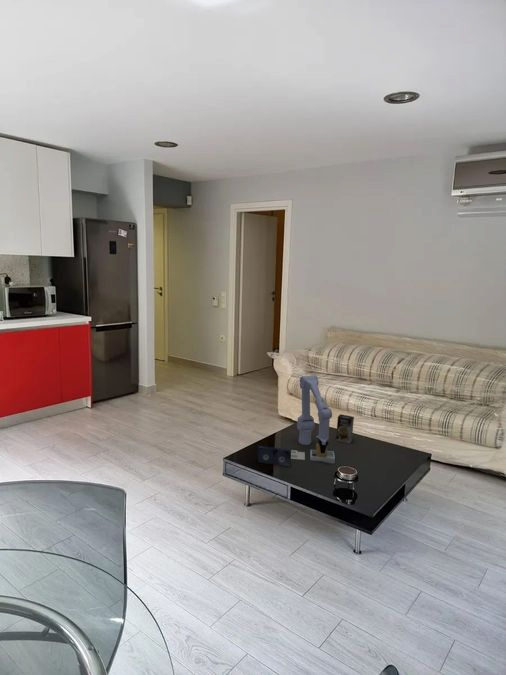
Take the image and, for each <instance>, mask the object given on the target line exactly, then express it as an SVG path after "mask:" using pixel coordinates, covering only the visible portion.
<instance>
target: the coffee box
mask: <svg viewBox="0 0 506 675" xmlns="http://www.w3.org/2000/svg"><path fill="white" fill-rule="evenodd" d="M354 421H355V417H354V416H351V415H347V414H341V413H340V414H339V415H338V416H337V421H336V422H337V423H336V433H335V434H336V435H335V436H336V438H335V441H336V442H341V443H344V444H350V443H352V441H353V432H354Z"/></svg>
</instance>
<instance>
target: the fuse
mask: <svg viewBox="0 0 506 675" xmlns="http://www.w3.org/2000/svg"><path fill="white" fill-rule="evenodd" d="M315 448H316V449H315V450H316V454H315V457H327V451H328V446H327V447H326V450H325V453H321V451H320V445H319V443H318V442H317V443H316V447H315Z"/></svg>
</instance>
